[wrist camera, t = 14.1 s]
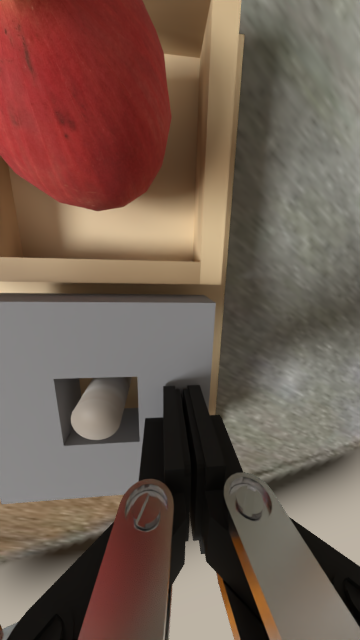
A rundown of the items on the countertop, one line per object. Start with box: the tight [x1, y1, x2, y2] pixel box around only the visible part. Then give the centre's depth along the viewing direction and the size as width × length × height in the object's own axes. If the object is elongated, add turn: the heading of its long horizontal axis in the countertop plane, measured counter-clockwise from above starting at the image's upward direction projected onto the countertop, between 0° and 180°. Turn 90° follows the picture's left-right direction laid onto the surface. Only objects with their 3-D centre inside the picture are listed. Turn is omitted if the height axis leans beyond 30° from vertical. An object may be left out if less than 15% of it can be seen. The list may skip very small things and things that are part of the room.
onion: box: [0, 0, 172, 211], centre depth 6 cm, size 6×6×8 cm
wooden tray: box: [0, 0, 244, 440], centre depth 10 cm, size 22×13×6 cm, turn 179°
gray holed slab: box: [0, 293, 216, 504], centre depth 10 cm, size 10×10×2 cm
